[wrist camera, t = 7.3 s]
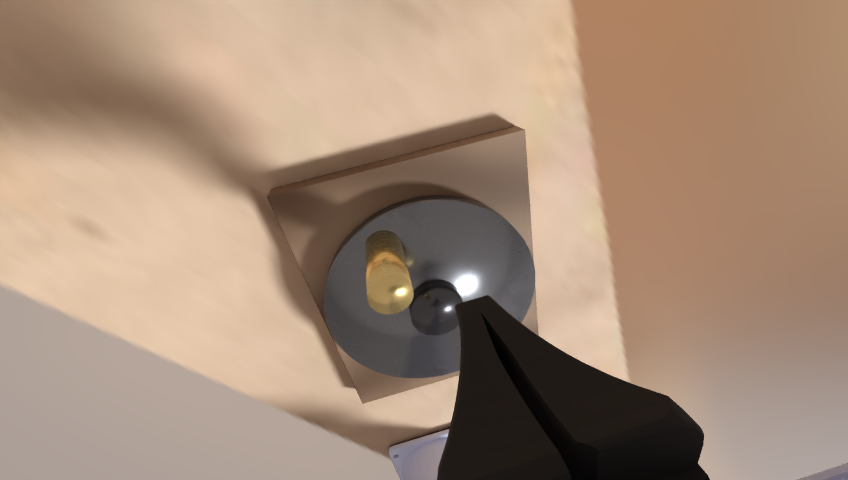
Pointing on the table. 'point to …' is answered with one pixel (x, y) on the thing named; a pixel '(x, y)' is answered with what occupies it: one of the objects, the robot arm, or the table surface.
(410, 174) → the base board
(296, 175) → the table surface
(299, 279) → the table surface
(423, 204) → the handwheel
